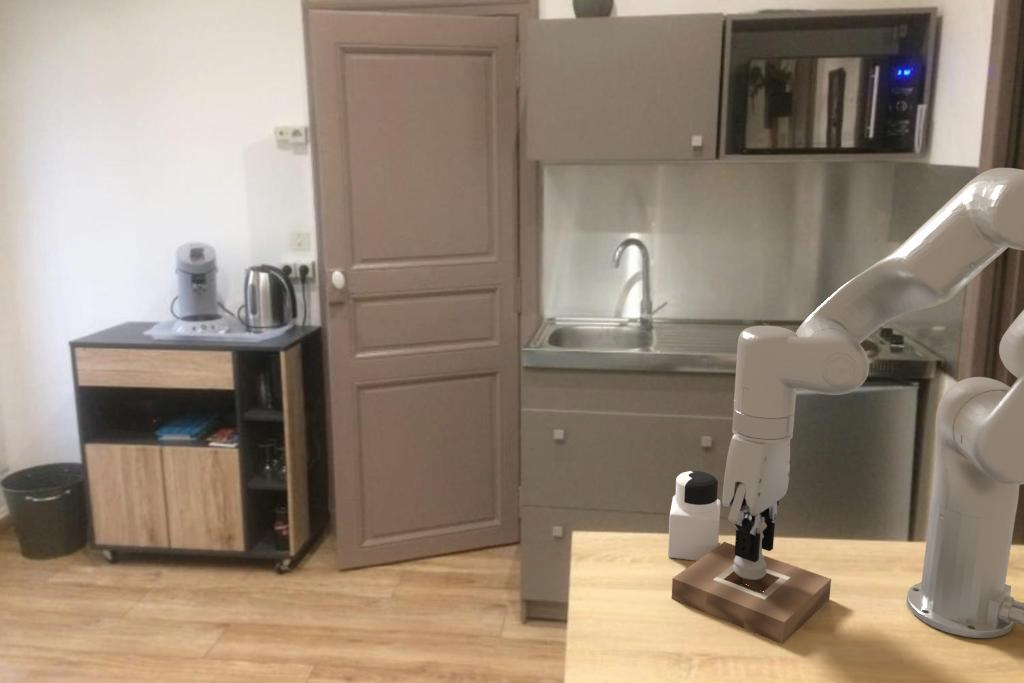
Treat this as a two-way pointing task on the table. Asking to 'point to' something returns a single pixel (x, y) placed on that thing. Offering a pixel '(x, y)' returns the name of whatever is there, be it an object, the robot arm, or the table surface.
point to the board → (752, 593)
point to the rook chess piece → (750, 568)
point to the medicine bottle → (694, 516)
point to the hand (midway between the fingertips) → (753, 551)
